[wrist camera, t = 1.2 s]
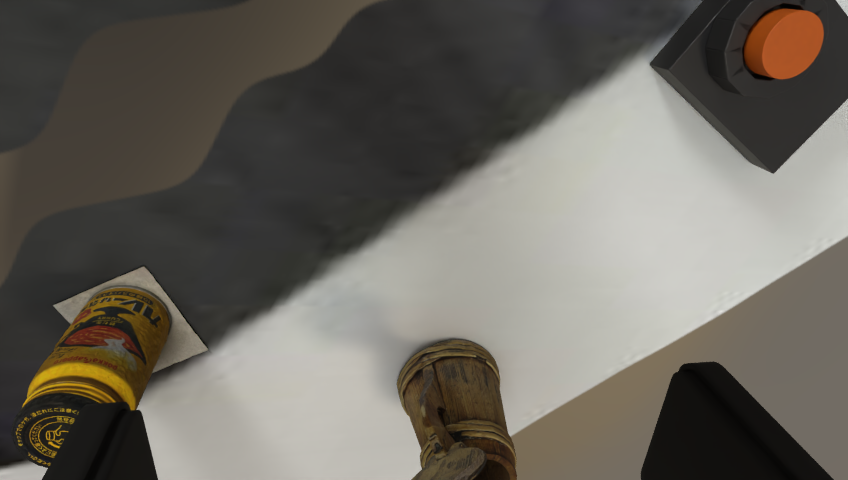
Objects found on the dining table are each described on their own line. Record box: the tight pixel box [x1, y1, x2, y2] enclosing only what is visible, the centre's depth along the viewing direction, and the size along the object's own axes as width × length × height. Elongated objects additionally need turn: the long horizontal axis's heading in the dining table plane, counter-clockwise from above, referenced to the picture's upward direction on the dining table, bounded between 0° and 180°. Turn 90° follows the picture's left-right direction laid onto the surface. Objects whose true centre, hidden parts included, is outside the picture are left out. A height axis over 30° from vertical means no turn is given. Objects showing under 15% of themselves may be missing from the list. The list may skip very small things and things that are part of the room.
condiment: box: [11, 267, 208, 468], centre depth 36 cm, size 7×8×12 cm
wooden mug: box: [397, 339, 517, 480], centre depth 40 cm, size 9×14×18 cm, turn 30°
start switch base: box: [650, 0, 848, 173], centre depth 38 cm, size 13×10×4 cm
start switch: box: [743, 8, 824, 79], centre depth 34 cm, size 4×4×2 cm
